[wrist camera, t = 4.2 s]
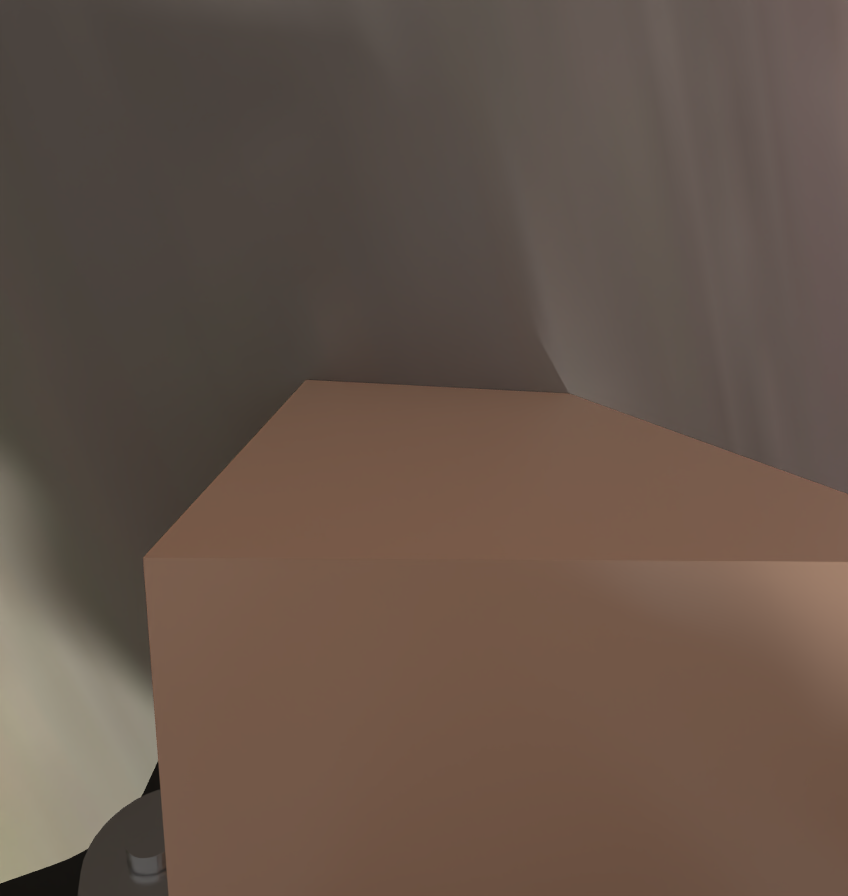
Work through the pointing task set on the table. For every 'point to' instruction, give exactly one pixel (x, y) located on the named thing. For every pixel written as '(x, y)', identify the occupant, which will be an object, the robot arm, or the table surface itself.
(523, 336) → the table surface
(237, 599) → the terracotta brick
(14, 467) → the table surface
